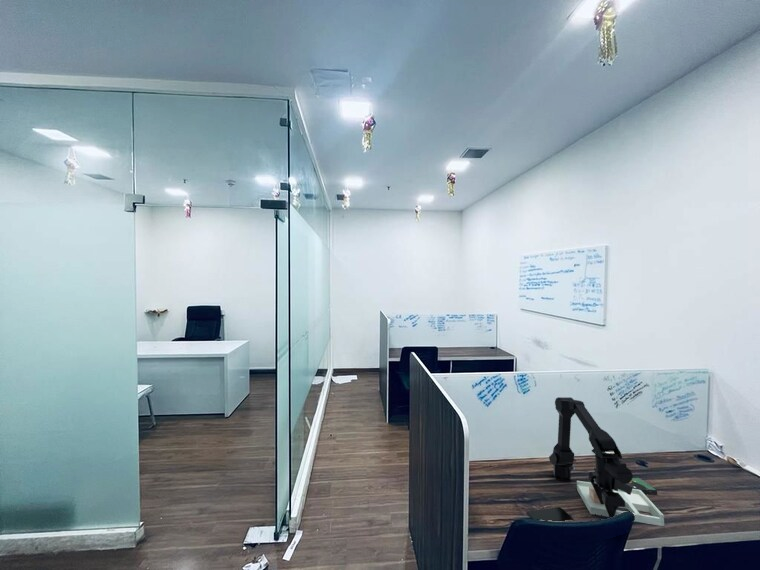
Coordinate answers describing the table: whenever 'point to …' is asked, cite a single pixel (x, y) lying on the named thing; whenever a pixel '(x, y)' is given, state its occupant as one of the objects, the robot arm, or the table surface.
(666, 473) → the table surface
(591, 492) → the terracotta block
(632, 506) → the box
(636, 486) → the disk drive
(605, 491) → the robot arm
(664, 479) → the table surface
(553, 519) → the smartphone
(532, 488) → the table surface
